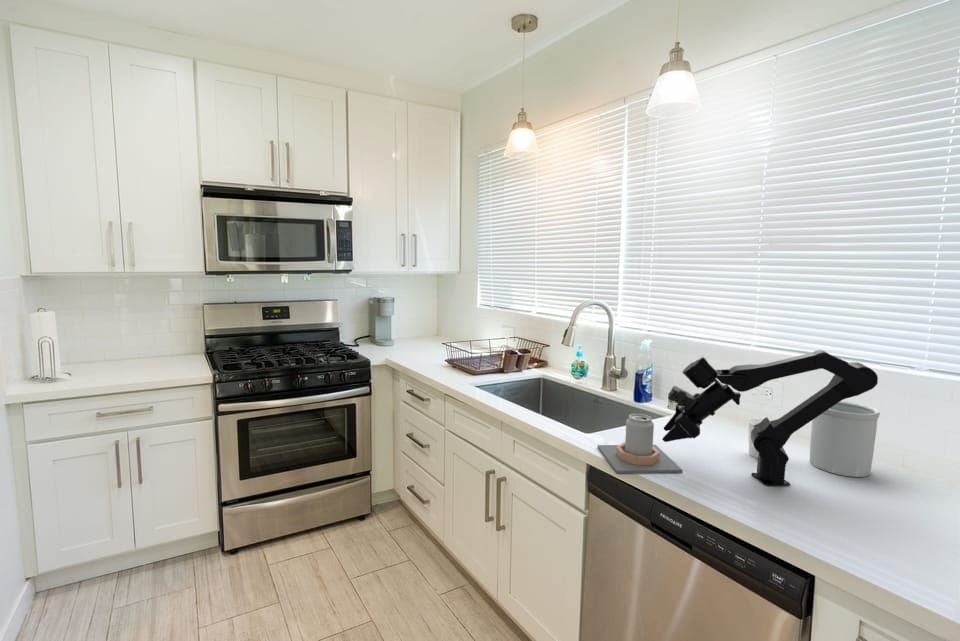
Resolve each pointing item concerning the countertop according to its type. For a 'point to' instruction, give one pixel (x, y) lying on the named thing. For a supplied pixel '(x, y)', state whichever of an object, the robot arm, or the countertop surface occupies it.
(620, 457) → the seat plate
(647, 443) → the can
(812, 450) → the utensil holder
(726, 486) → the countertop surface
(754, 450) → the white cup
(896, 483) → the countertop surface
